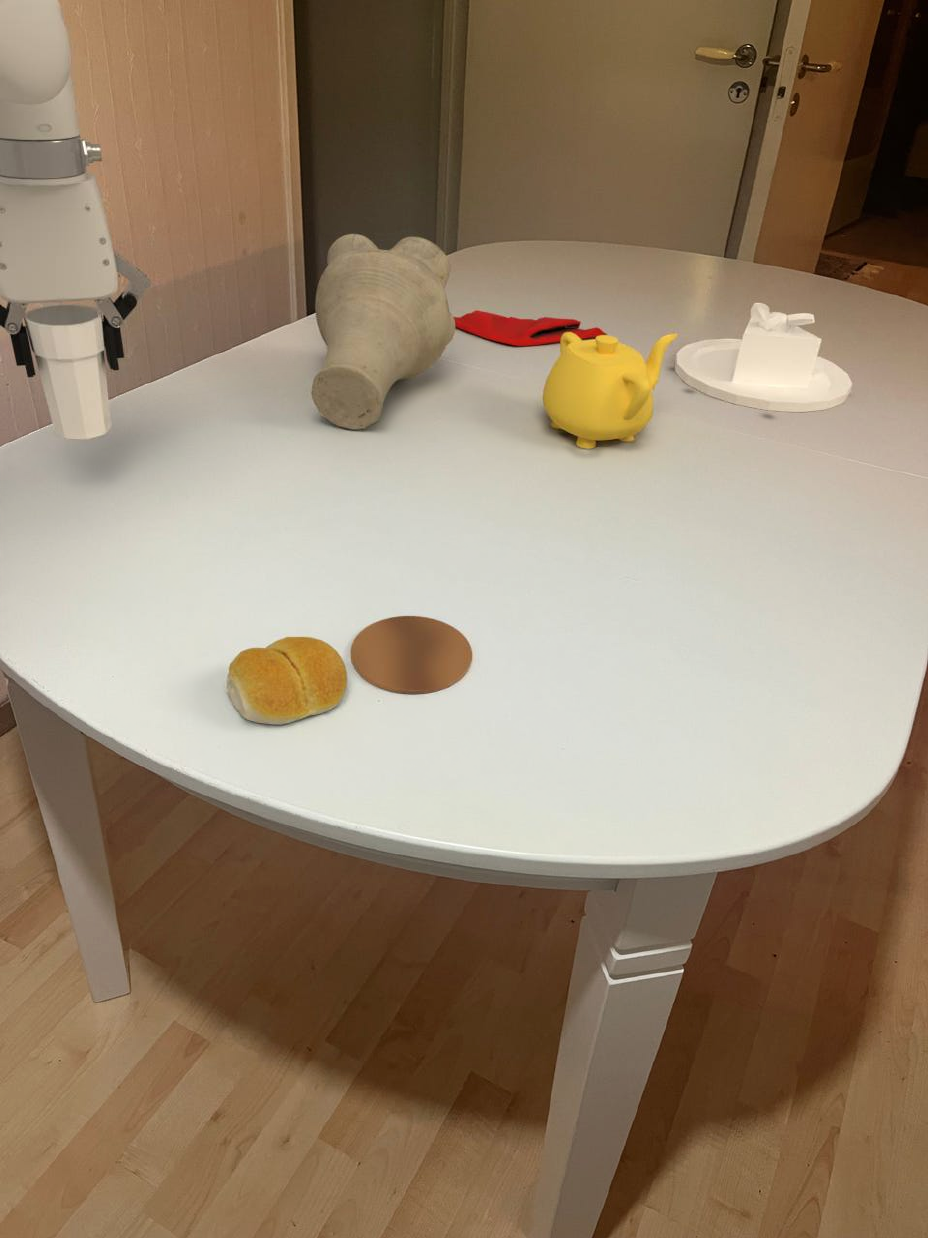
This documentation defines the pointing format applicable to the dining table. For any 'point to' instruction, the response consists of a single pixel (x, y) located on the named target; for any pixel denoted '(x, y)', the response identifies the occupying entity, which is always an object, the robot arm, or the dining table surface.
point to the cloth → (521, 328)
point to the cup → (71, 367)
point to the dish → (766, 366)
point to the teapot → (602, 388)
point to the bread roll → (286, 680)
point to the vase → (378, 323)
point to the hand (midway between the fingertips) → (72, 367)
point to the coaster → (411, 654)
